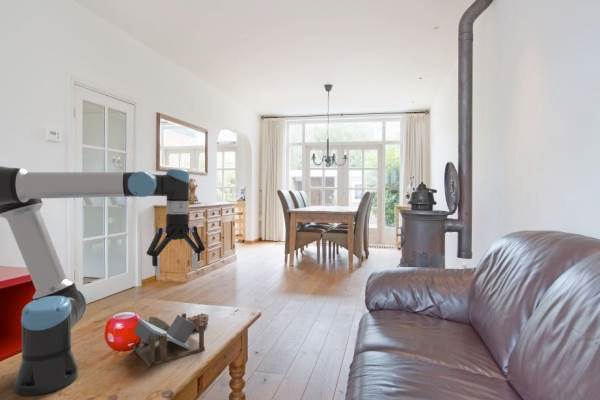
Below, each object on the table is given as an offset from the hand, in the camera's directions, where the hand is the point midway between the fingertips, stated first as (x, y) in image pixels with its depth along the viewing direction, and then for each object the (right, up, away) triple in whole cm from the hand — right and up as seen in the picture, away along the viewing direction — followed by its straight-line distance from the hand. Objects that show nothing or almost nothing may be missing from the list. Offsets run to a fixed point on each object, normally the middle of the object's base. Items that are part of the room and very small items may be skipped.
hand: (176, 273), depth 127 cm
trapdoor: (-5, -24, -4) cm, 25 cm away
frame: (-2, -27, -1) cm, 27 cm away
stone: (-11, -27, +13) cm, 31 cm away
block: (0, -23, 0) cm, 23 cm away
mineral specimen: (+1, -27, +19) cm, 32 cm away
